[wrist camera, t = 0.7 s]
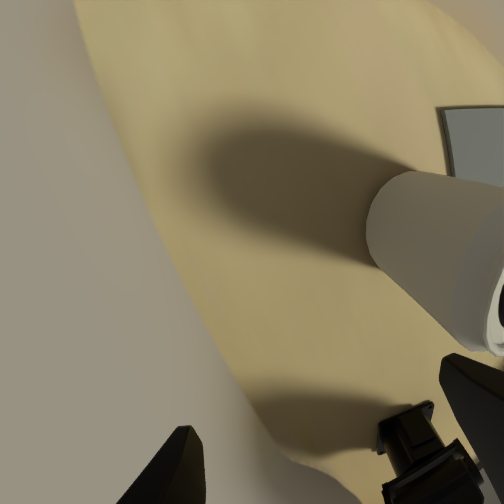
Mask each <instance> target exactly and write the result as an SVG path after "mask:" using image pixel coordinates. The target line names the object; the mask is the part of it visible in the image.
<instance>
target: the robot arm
mask: <svg viewBox="0 0 504 504" xmlns="http://www.w3.org/2000/svg"><path fill="white" fill-rule="evenodd" d="M439 382H440V385H441V387H442V389H443V391H444V393H445V396H446V398H447V400H448V402H449V404H450V407H451V409H452V411H453V413H454V416H455V418H456V420H457V422H458V424H459V425H460V427H461V429H462V431H463V432H464V434H465V436H466V437H467V439H468V441H469V443H470V444H471V446H472V448H473V450H474V452H475V453H476V455H477V457H478V459H479V461H480V463H481V464H482V466H483V468H484V470H485V472H486V474H487V476H488V478H489V480H490V481H491V484H492V486H493V488H494V489H495V491H496V494H497V496H498V498H499V500H500V502H501V504H504V371H501V370H498V369H496V368H493V367H490V366H488V365H485V364H483V363H480V362H477V361H475V360H472V359H469V358H467V357H464V356H462V355H459V354H457V353H451V354H449V355H447V356H445V357H443V358H442V361H441V367H440V373H439ZM433 409H434V403H433V402H428V403H426V404H424V405H422V406H419V407H417V408H415V409H412V410H410V411H408V412H405V413H403V414H400V415H398V416H395V417H393V418H390V419H388V420H385V421H382V422H381V423H379V425H378V438H377V454H378V455H382V454H385V453H387V455H388V458H389V460H390V462H391V465H392V467H393V469H394V472H395V474H396V476H397V478H395V479H393V480H391V481H390V482H388V483H387V482H386V483H384V484H382V488H383V490H382V491H381V492H382V495H383V498H384V502H385V504H484V496H483V494H482V492H481V490H480V489H479V486H480V485H482V484H483V483H484V480H483V478H482V476H481V474H480V472H479V470H478V468H477V466H476V465H475V463H474V462H473V460H472V459H471V457H470V456H469V454H468V453H467V451H466V450H465V448H464V447H463V445H462V444H461V443H460V441H459V440H458V438H456V439H455V440H454V441H453V442H452V443H451V444H449V445H448V446H446V447H445V445H444V443H443V441H442V440H441V438H440V436H439V435H438V433H437V431H436V430H435V428H434V427H433V425H432V423H431V418H432V414H433ZM205 502H206V482H205V468H204V455H203V445H202V442H201V440H200V438H199V436H198V435H197V433H196V432H195V430H194V428H193V427H192V426H190V425H187V426H178V427H177V428H176V429H175V430H174V431H173V433H172V434H171V435H170V437H169V438H168V439H167V441H166V442H165V443H164V444H163V446H162V447H161V448H160V450H159V451H158V452H157V453H156V455H155V456H154V457H153V459H152V460H151V461H150V463H149V464H148V465H147V466H146V467H145V469H144V470H143V471H142V472H141V474H140V475H139V476H138V477H137V479H136V480H135V481H134V482H133V484H132V485H131V486H130V487H129V489H128V490H127V491H126V492H125V493H124V495H123V496H122V497H121V498H120V499H119V501H118V502H117V503H116V504H205Z"/></svg>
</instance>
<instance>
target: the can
mask: <svg viewBox="0 0 504 504" xmlns="http://www.w3.org/2000/svg"><path fill="white" fill-rule="evenodd" d="M366 241H367V245H368V248H369V252H370V255H371V257H372V258H373V260H374V261H375V263H376V264H377V266H378V267H379V268H380V269H381V270H382V271H383V272H384V273H386V274H387V275H388V276H389V277H390V278H391V279H392V280H393V281H394V282H396V283H397V284H398V285H399V286H400V287H401V288H402V289H403V290H404V291H405V292H407V293H408V294H409V295H410V296H411V297H412V298H413V299H414V300H415V301H416V302H417V303H418V304H419V305H421V306H422V307H423V308H424V309H425V310H426V311H427V312H428V313H429V314H430V315H431V316H432V317H433V318H434V319H435V320H436V321H437V322H438V323H439V324H440V325H441V326H442V327H443V328H444V329H445V330H446V331H447V332H448V333H449V334H450V335H451V336H452V337H453V338H454V339H455V340H456V341H457V342H458V343H459V344H461V345H462V346H464V347H465V348H466V349H468V350H469V351H479V352H485V351H489V352H490V353H491V354H493V355H494V356H504V188H502V187H498V186H494V185H489V184H485V183H480V182H476V181H471V180H466V179H461V178H456V177H451V176H445V175H440V174H434V173H428V172H421V171H408V172H405V173H402V174H400V175H397V176H394V177H393V178H392V179H391V180H389V181H388V182H387V183H386V184H385V185H384V186H382V187H381V189H380V190H379V192H378V194H377V195H376V197H375V198H374V200H373V201H372V203H371V207H370V210H369V213H368V217H367V220H366Z"/></svg>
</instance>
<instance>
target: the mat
mask: <svg viewBox="0 0 504 504" xmlns="http://www.w3.org/2000/svg"><path fill="white" fill-rule="evenodd" d="M441 114H442V119H443V124H444V129H445V134H446V140H447V146H448V152H449V159H450V166H451V174H452V177H456V178H461V179H466V180H471V181H476V182H480V183H485V184H489V185H494V186H498V187H502V188H504V108H480V109H454V110H441Z"/></svg>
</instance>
